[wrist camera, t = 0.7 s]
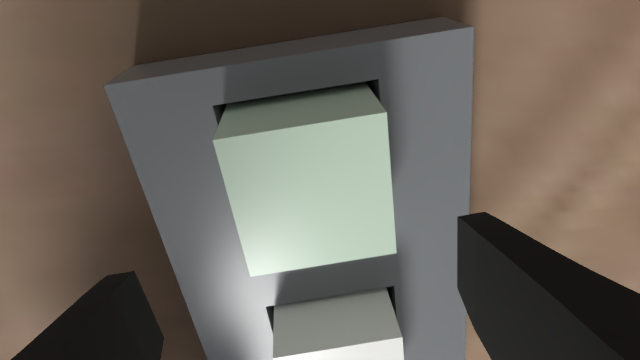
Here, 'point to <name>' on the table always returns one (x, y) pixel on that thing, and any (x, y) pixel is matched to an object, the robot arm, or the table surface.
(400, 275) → the button housing
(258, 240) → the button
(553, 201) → the table surface
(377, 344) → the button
